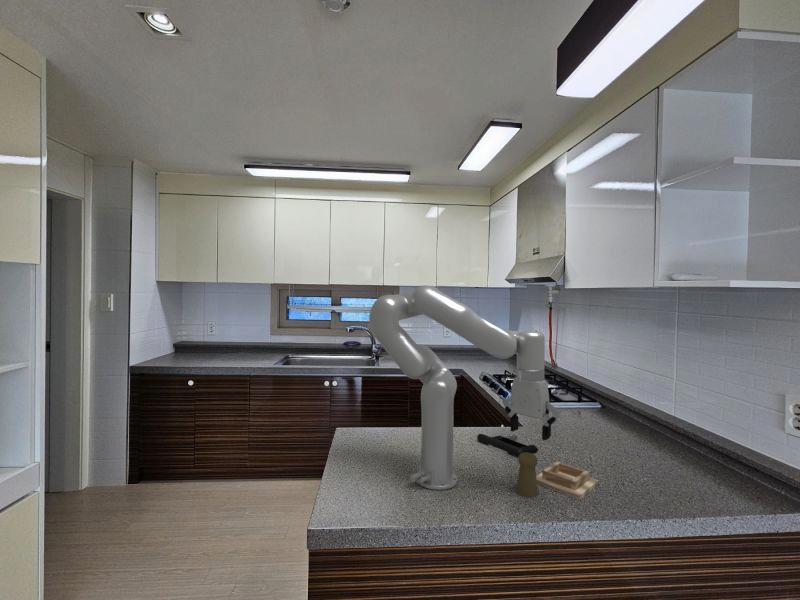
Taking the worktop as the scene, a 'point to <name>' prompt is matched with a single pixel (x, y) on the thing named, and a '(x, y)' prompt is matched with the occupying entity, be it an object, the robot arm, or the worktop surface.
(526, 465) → the olive tall rounded piece
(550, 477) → the holder
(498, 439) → the door handle
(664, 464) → the worktop surface
